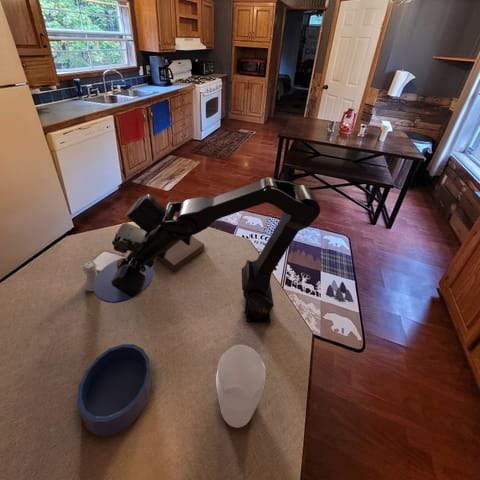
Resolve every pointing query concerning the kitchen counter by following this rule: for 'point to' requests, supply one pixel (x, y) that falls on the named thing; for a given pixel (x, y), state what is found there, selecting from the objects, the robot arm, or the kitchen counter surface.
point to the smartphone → (105, 259)
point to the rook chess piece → (90, 275)
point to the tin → (115, 389)
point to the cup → (239, 384)
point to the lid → (110, 292)
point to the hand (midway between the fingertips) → (118, 273)
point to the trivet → (182, 253)
